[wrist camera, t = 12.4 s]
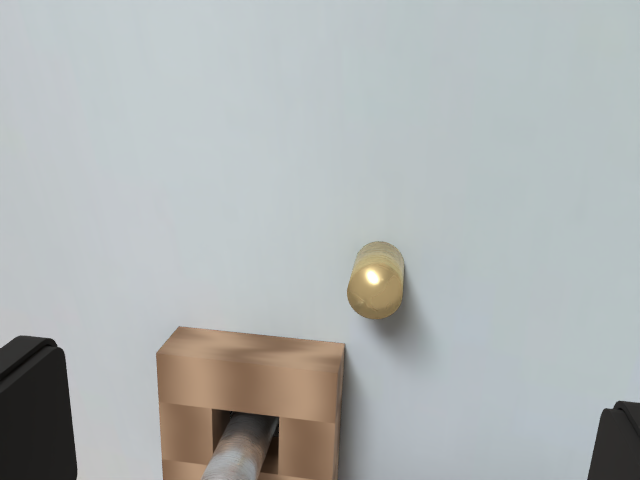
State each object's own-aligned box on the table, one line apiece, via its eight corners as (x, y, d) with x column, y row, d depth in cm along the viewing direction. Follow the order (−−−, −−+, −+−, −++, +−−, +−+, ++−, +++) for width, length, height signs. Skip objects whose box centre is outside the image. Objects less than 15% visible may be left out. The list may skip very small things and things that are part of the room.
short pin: (405, 243, 38) (404, 270, 34) (402, 289, 39) (400, 321, 35) (356, 239, 39) (348, 265, 34) (353, 285, 40) (345, 316, 35)
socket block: (344, 343, 41) (337, 373, 37) (337, 486, 45) (329, 526, 41) (178, 326, 43) (156, 353, 39) (184, 465, 46) (164, 502, 43)
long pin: (281, 391, 43) (235, 512, 32) (281, 429, 44) (235, 559, 33) (238, 386, 44) (177, 504, 32) (239, 424, 45) (179, 551, 33)
